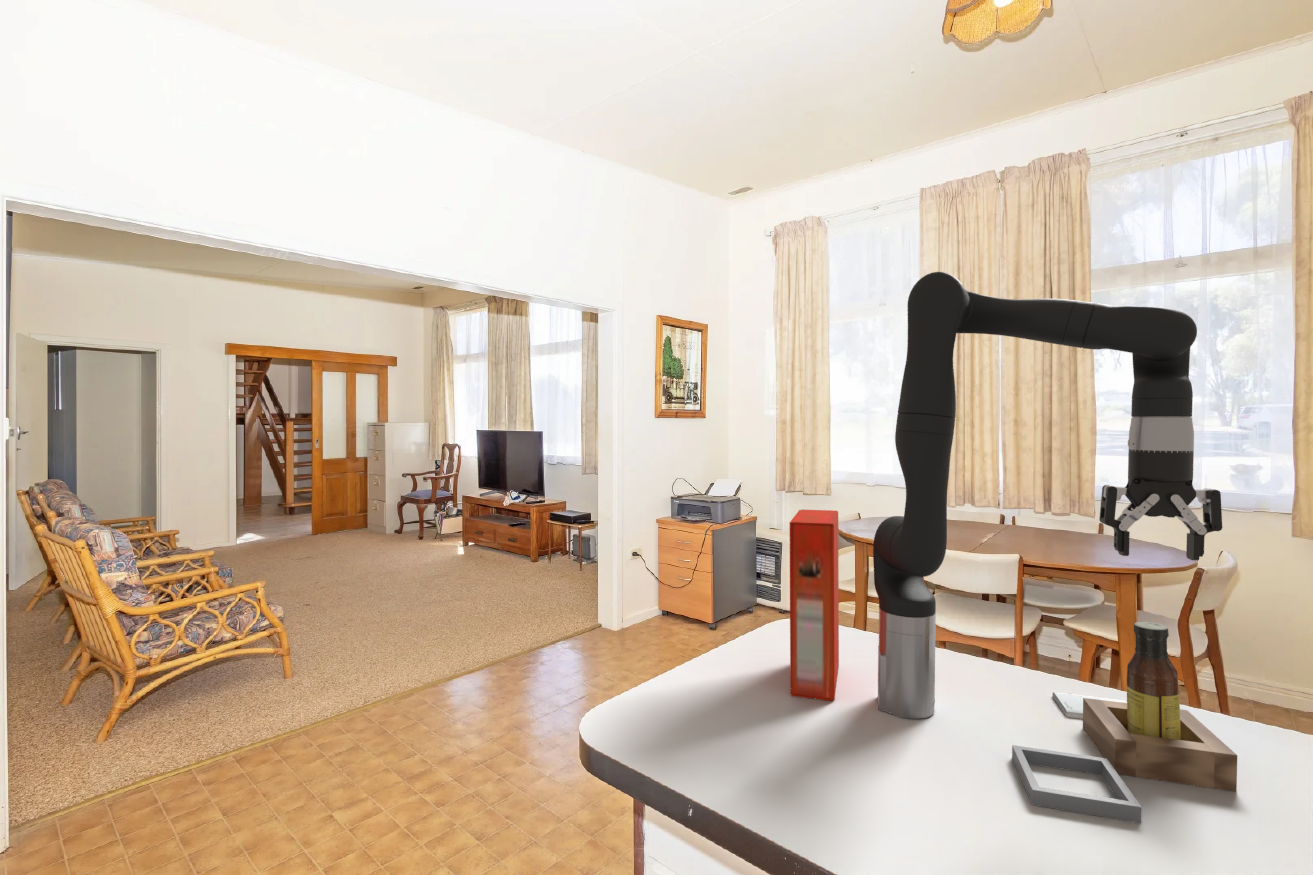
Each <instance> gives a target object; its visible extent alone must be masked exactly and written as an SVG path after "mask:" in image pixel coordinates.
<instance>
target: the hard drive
mask: <svg viewBox="0 0 1313 875" xmlns="http://www.w3.org/2000/svg"><path fill="white" fill-rule="evenodd" d="M1052 698H1053V700H1054V701H1055V703H1056V704H1057V706H1058V707H1059V708H1060V710H1061V712H1062V713H1063V714H1064V715H1065V717H1066V718H1074V719H1082V720H1083V698H1088V699H1097V700H1105V701H1113V702H1122V703H1127V700H1123V699H1122V700H1121V699H1114V698H1113V699H1112V698H1105V697H1096V696H1091V695H1090V696H1088V695H1080V694H1074V693H1073V694H1072V693H1063V692H1054V691H1053V692H1052Z"/></svg>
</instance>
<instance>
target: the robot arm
mask: <svg viewBox="0 0 1313 875" xmlns="http://www.w3.org/2000/svg"><path fill="white" fill-rule="evenodd" d="M957 334H976V335H977V334H979V335H981V334H982V335H983V334H984V335H994V336H997V335H998V336H1004V337H1011V338H1012V337H1013V338H1018V339H1023V340H1024V339H1025V340H1030V341H1037V342H1041V343H1047V344H1055V345H1060V346H1066V347H1073V348H1078V349H1079V348H1080V349H1085V350H1086V349H1087V350H1113V351H1117V352H1124V353H1130V354H1131V355H1132V371H1133V373H1132V374H1133V384H1132V385H1133V387H1132V394H1131V412H1130V413H1131V416H1130V417H1131V418H1130V424H1129V431H1128V439H1127V446H1128V456H1127V457H1128V462H1127V464H1128V465H1127V467H1128V468H1127V484H1126V485H1125V487H1123V486H1115V485H1110V484H1104V485H1103V486H1102V488H1101V498H1100V507H1099V508H1100V510H1099V522H1100V523H1101V524H1103V525H1106V526H1108V527H1111V528H1112V529H1113V548H1114V550H1115V551H1117V552H1118V554H1119V555H1120V556H1122V557H1123V556H1124V557H1129V555H1130V537H1131V536H1130V531H1128V530H1129V529H1130V527H1132V526H1133V525H1134V524H1135V523H1136V522H1137V521H1139V520H1140V519H1141V518H1142V517H1143V516H1146V517H1151V518H1153V517H1154V518H1157V517H1160V516H1162V517H1166V518H1173V519H1174V518H1175V517H1176V518H1177V519H1178V520H1180V521H1181V522H1182V523H1183V525H1184V526H1185V528H1187V529H1188V531H1189V532H1186V550H1185V551H1186V552H1185V553H1186V555H1185V556H1186V558H1187V559H1188V560H1190V561H1197V562H1198V561H1199V560H1200V558H1202V557H1203V556H1204V554H1205V537H1206V535H1207V534H1208V533H1212V532H1213V533H1214V532H1220V531H1222V530H1223V516H1222V515H1223V513H1222V497H1221V496H1222V495H1221V491H1220V490H1218V489H1214V488H1212V487H1211V488H1210V487H1209V488H1207V487H1206V488H1203V489H1195V488H1194V486H1193V485H1194V484H1193V482H1194V461H1195V460H1194V458H1195V456H1194V455H1195V454H1194V452H1195V449H1194V448H1195V430H1194V423H1193V422H1194V421H1193V398H1194V397H1193V396H1194V395H1193V393H1194V392H1193V385H1192V382H1191V380H1190V378H1189V376H1190V354H1191V347H1192V346H1193V344H1194V343H1195V341H1196V338H1197V334H1198V328H1197V324H1196V322H1195V321H1194V319H1193V318H1192V317H1191V316H1190V315H1188V314H1187V313H1185V312H1184V311H1180V310H1177V309H1173V308H1167V307H1159V306H1157V307H1156V306H1141V305H1140V306H1138V305H1137V306H1133V305H1111V304H1104V303H1100V302H1093V301H1092V302H1091V301H1084V300H1083V301H1082V300H1075V299H1066V298H1064V299H1063V298H1025V299H1024V298H1023V299H1022V298H1021V299H1018V298H1017V299H1016V298H1012V299H1011V298H1004V297H1002V298H1001V297H993V296H989V295H985V294H981V293H976V292H973V291H970V290H966V288H965V286H964V285H963V283H962V282H961V281H960V280H959V279H958V278H957V277H955V276H954V275H952V274H950V273H948V272H945V271H934V272H929V273H928V274H925V275H923V276H922V277H921V278H920V279H919V280H917V282H916V283H915V284H914V285H913V287H912V288H911V290H910V292H909V296H908V300H907V348H906V350H907V351H906V358H905V359H906V360H905V365H904V370H903V376H902V380H901V381H902V382H901V388H900V394H899V402H898V409H897V417H896V424H895V425H896V426H895V434H894V442H895V443H894V444H895V449H896V454H897V457H898V458H897V459H898V461H899V465H900V468H901V472H902V474H903V475H902V476H903V479H904V485H905V505H904V512H903V516H900V515H894V516H889V517H888V518H887V517H886V519H884V520H882V522H880V524H879V525H878V526H877V528H876V530H875V532H874V537H873V546H872V547H873V548H872V554H873V555H872V556H873V557H872V558H873V560H872V561H873V580H874V582H873V583H874V584H873V585H874V589H875V593H876V595H877V597H878V646H877V707H878V711H883V712H886V713H889V714H890V715H894V716H897V717H900V718H906V719H915V720H916V719H926V718H929V717H931V716H934V713H935V704H936V698H935V696H936V692H935V691H936V688H935V687H936V624H937V623H936V622H937V621H936V612H937V611H936V609H937V608H936V607H937V606H936V602H937V601H936V598H935V596H934V594H933V593H932V592H931V591H930V589H929V588H928V586H927V584H926V583H925V581H924V577H929V576H931V575H933V574H935V573H936V572H937V571H938V570H939V569H940V567H941V566H942V564H943V562H944V559H945V557H946V553H947V552H946V551H947V542H948V540H947V539H948V538H947V537H948V522H947V521H948V520H947V519H948V518H947V516H948V515H947V514H948V505H947V504H948V489H949V488H948V486H949V476H950V475H949V474H950V466H951V465H950V464H951V456H952V455H951V454H952V446H953V442H954V432H955V424H956V414H957V413H956V412H957V402H956V397H957V395H956V394H957V393H956V382H955V371H954V351H955V343H956V339H957V338H956V337H957ZM1122 496H1125V497H1126V498H1127V499H1128V501H1129V502H1130V503H1129V504H1128V505H1127V506H1126V507H1125V508H1124V509H1123V510H1122V512H1121V514H1120V515H1119V516H1118V517H1117V518H1116V511H1117V510H1116V509H1117V508H1116V507H1117V502H1119V501H1121V499H1122ZM1196 498H1197V500H1198V502H1199V503H1200V504H1202V521H1203V522H1201V521H1200V520H1199V519H1198V516H1197V515H1196V514H1195V512H1193V511H1192V509H1191V508H1190V507H1189V505H1190V504H1191V503H1192V502H1193V501H1194V500H1195V499H1196Z"/></svg>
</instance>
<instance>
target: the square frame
mask: <svg viewBox="0 0 1313 875" xmlns="http://www.w3.org/2000/svg"><path fill="white" fill-rule="evenodd" d="M1011 758H1012V761H1013V764H1014V766H1015V768H1016V770H1017V773H1018V776H1019V777H1020V779H1021V782H1022V784H1023V787H1024V788H1025V791H1026V794H1027V797H1028V798H1029V801H1030V802H1031V805H1032V806H1038V807H1044V808H1050V809H1054V810H1055V809H1056V810H1062V811H1065V812H1066V811H1068V812H1073V813H1078V814H1079V813H1080V814H1084V815H1085V814H1086V815H1091V816H1097V817H1103V818H1109V819H1115V820H1119V821H1120V820H1121V821H1126V822H1127V821H1128V822H1131V823H1139V824H1142V819H1143V818H1142V812H1143V807H1142V806H1141V804H1140V803H1139V801H1138V800H1137V799H1136V797H1135V796H1134V794H1133V793H1132V792H1131V790H1130V789H1129V787H1128V786H1127V785H1126V783H1125V781H1124V780H1123V779H1122V778H1121V776H1120V774H1118V773H1117V772H1116V771H1115V769H1114V768H1113V766H1112V765H1111V764H1110V762H1109V761H1108V759H1107V758H1103V757H1099V756H1091V755H1085V754H1078V753H1072V752H1071V753H1070V752H1064V751H1059V750H1058V751H1056V750H1049V749H1043V748H1037V747H1029V746H1022V745H1015V744H1013V745H1011ZM1030 765H1034V766H1040V767H1048V768H1054V769H1059V770H1067V771H1074V772H1080V773H1084V774H1085V773H1086V774H1091V775H1098V776H1099V775H1100V776H1101V777H1102V779H1103V780H1104V782H1105V783H1106V784H1107V786H1108V788H1109V790H1110V791H1111V793H1112V794H1113V796H1114V797H1115V798H1110V797H1105V796H1098V795H1093V794H1087V793H1079V792H1074V791H1073V792H1072V791H1068V790H1067V791H1066V790H1061V789H1055V788H1049V787H1042V786H1039V784H1038V781H1037V779H1036V778H1035V775H1034V773H1033V771H1032V769H1031V766H1030Z"/></svg>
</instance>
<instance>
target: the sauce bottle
mask: <svg viewBox="0 0 1313 875" xmlns="http://www.w3.org/2000/svg"><path fill="white" fill-rule="evenodd" d="M1133 632H1134V635H1135V647H1134V653H1133V656H1132V658H1131V659H1130V660H1129V662H1128V663H1127V668H1126V669H1127V670H1126V701H1127V717H1128V732H1129V733H1130V734H1138V735H1145V736H1153V737H1161V738H1168V739H1176V740H1181V731H1180V709H1181V708H1180V706H1181V705H1180V691H1179V677H1178V671H1177V668H1176V667H1175V666H1174V664H1173V663H1172V661H1171V659H1170V658H1169V653H1168V641H1167V640H1168V637H1169V636H1170V635H1169V634H1170V633H1169V628H1168V627H1167V626H1166V625H1164V624H1161V623H1157V622H1152V621H1137V622H1134V624H1133Z"/></svg>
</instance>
